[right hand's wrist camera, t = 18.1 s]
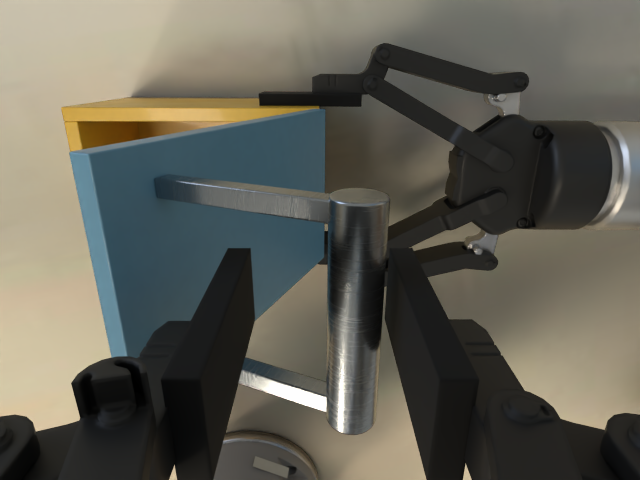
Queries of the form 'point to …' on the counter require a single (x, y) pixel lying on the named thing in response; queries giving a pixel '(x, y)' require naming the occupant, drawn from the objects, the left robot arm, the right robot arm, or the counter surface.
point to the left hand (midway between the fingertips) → (265, 174)
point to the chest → (157, 117)
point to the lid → (239, 244)
